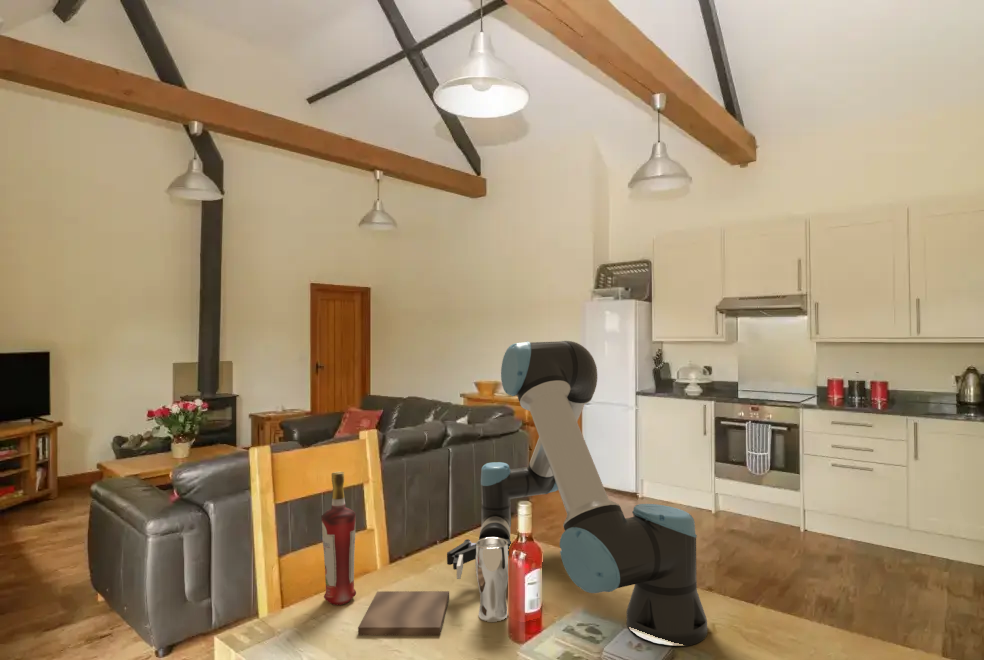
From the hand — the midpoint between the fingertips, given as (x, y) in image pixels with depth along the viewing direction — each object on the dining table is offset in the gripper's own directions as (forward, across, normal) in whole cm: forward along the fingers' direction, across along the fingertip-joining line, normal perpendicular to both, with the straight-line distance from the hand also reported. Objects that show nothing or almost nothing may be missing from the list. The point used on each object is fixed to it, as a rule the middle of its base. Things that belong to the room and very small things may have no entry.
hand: (491, 572), depth 123 cm
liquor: (-6, +34, -8) cm, 35 cm away
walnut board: (+1, +18, -8) cm, 19 cm away
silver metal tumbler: (+1, 0, -9) cm, 9 cm away
